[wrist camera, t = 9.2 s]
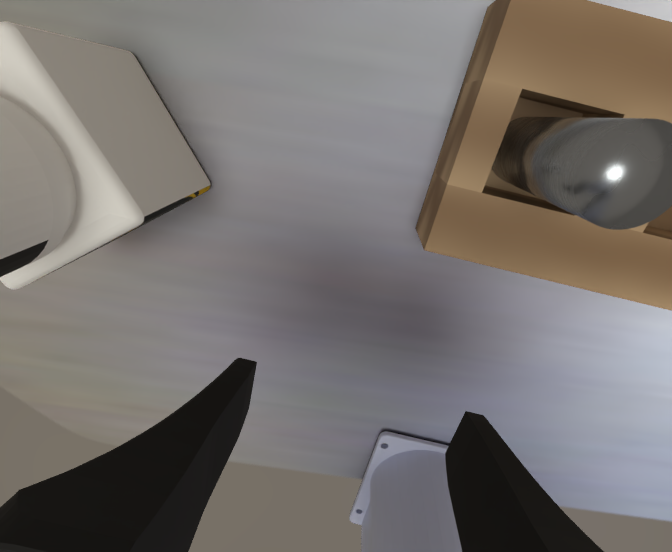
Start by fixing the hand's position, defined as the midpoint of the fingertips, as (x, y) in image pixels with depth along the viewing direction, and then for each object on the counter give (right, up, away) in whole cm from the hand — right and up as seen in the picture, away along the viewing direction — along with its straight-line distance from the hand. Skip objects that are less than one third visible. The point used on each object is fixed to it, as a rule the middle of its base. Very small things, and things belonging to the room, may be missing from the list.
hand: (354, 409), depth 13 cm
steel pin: (+8, +10, +5) cm, 14 cm away
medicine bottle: (-12, +11, +7) cm, 18 cm away
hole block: (+11, +10, +6) cm, 16 cm away
